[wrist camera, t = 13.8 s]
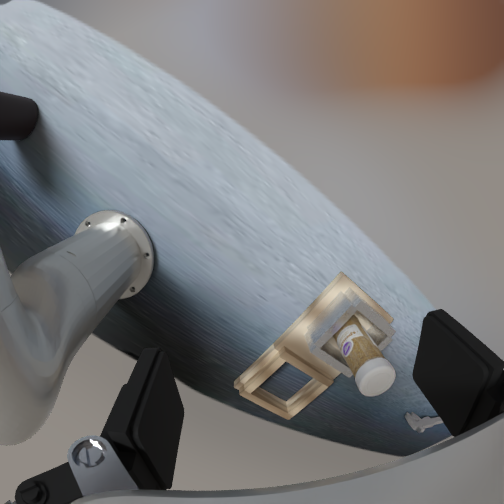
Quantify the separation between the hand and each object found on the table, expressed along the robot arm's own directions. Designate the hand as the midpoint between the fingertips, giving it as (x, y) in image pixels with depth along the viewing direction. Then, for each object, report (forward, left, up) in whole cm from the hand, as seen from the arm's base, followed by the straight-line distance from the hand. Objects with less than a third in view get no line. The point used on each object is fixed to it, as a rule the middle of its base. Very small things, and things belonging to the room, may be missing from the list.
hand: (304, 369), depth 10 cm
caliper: (+40, -44, -31) cm, 67 cm away
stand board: (+8, -21, -30) cm, 38 cm away
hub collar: (+13, -16, -29) cm, 35 cm away
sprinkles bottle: (+12, -16, -29) cm, 35 cm away
